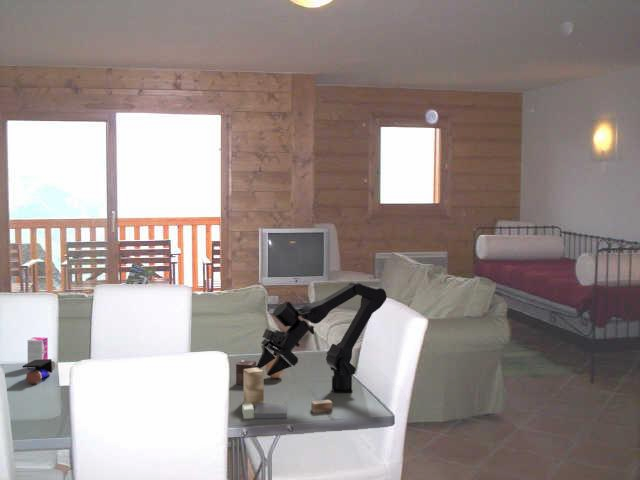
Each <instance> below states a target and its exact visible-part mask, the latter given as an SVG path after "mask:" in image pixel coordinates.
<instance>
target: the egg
mask: <svg viewBox="0 0 640 480" xmlns="http://www.w3.org/2000/svg"><path fill="white" fill-rule="evenodd" d="M275 357H276V356H275ZM275 361H276V358H275V359H274V360H272V361H271V362H269V363H268V364H266V365H265V372H266V374H267V373H268V371H269V370H270V368H271V367H272V365H273V364H274V362H275ZM283 372H284V370H281V371H279V372H277V373H275V374H273V375H271V376H269V377H270V378H273V379H276V378H277V379H278V378H279V377H280V376H282V374H283Z"/></svg>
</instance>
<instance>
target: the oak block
mask: <svg viewBox="0 0 640 480" xmlns="http://www.w3.org/2000/svg"><path fill="white" fill-rule="evenodd" d="M264 375H265V373H264V370H263V369H262V368H258V367H257V368H249V369H244V384H243V404H246V403H252V405H253V407H255V405H256V403H265V402H264V401H265V400H264V399H265V397H264V393H265V391H264Z"/></svg>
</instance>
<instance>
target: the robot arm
mask: <svg viewBox="0 0 640 480" xmlns="http://www.w3.org/2000/svg"><path fill="white" fill-rule="evenodd" d="M356 296H361V298H360V307H359V309H358V310H357V312H356V314H355V315H354V317H353V319H352V320H351V323H350V325H349V326H348V328H347V329H346V331H345V333H344V335H343V336H342V338H341V340H340V341H339V342H338V343H337V344H334V343H332V344H331V345H330V348H329V349H328V351H327V352H326V353H325V354H326V358H325V360H326V364H327V365H328V366H329V368H330V371H332V372H333V373H332V375H331V389H332V390H333V393H353V375H355V374H356V369H357V368H356V367H355V366H354V365H353V364H352V363H351V361H352V358H353V350H354V347H355V345H356V343H357V342H358V340H359V338H360V336H361V334H362V333H363V331H364V329H365V328H366V325H367V324H368V322H369V320H370V319H371V317H372V315H373V314H374V313H375V312H376V311H378V310H379V309H380V308H381V307H382V306H383V305H384V304H385V303H386V300H387V297H388V296H387V292H386V290H385V289H384V288H380V287H378V286H377V287H376V286H373V285H369V286H366V285H363V284H362V283H359V282H356V281H351V282H349V283H348V284H347V285H346V286H343V287H342V288H340V289H339V290H337V291H336V292H334V293H332V294H330V295H329V296H327V297H325V298H324V299H321V300H317V301H312V302H310V303H307V304H305V305H303V307H301V308H295V307H294V306H293V304H292V303H291V302H290V301H288V300H285V302H283V303H281V304H280V305H278V306H276V307H275V309H274V311H273V312H272V316H273V317H274V318H275V319H276V320H277V321H278V322H279V323H280V324H281V325H282V326H283V327H285V328H287V330H286V331H284V330H283V331H281V330H278V329H276V330H272V329H268V328H265V330H264V333H263V335H262V338H263V340H262V342H261V350H262V351H261V352H262V353H261V355H260V358H259V360H258V362H257V363H256V368H257V367H258V368H260V369H262V368H263V367H266V364H268V363H269V362H271V361H272V360H274V359H275V358H276V361H275V362H274V364H273V365H272V367H271V368H270V370H269V371H268V373H267V372H266V375H267V376H268V377H270V376H271V375H273V374H275V373H277V372H279V371H281V370H283V371H284V370H287V369H289V368H292V366H293V367H296V365H298V363H299V358H298V357H297V355H295V354H294V353H293V350H294V349H295V348H296V347H297V348H298V347H300V346H301V345H300V342H301V340H303V338H304V337H305V336H306V335H307V334H308V333H309V334H311V335H315V330H314V329H315V326H314V325H315V324H319V323H321V322H322V321H323V320H324V319H326V317H328V315H329V313H330V312H331V311H333V310H334V309H336V308H338V307H339V306H341V305H343V304H345V303H346V302H348V301H349V300H351V299H353V298H354V297H356ZM300 318H301V319H302V320H301V319H300ZM308 323H310V325H309V324H308ZM312 324H314V325H312ZM275 356H276V357H275Z"/></svg>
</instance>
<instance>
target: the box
mask: <svg viewBox="0 0 640 480" xmlns="http://www.w3.org/2000/svg"><path fill="white" fill-rule="evenodd" d="M256 366H257V361H256V360H239V361H238V362H237V363H236V364H235V382H236V383H235V384H236V385H244V369H249V368H256Z"/></svg>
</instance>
